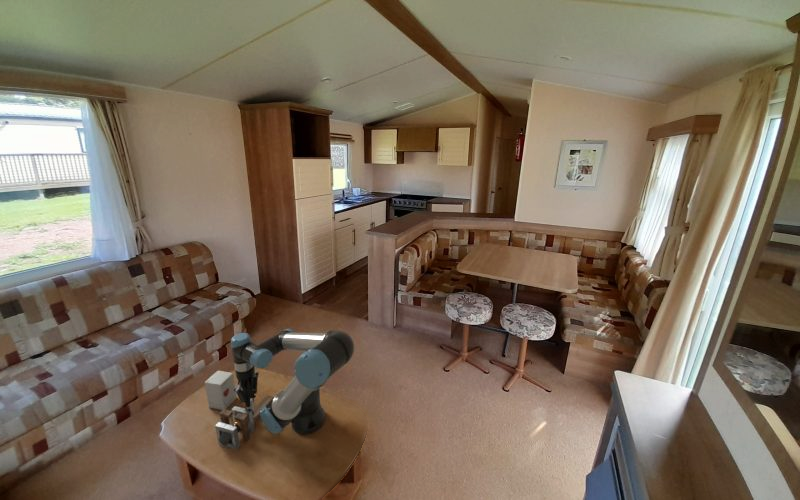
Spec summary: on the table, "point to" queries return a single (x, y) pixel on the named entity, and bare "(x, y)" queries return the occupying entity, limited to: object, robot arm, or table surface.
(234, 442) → the collar
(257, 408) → the rail
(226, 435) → the tube
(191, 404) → the table surface
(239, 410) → the collar
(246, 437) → the aperture bridge
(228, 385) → the supplement box
